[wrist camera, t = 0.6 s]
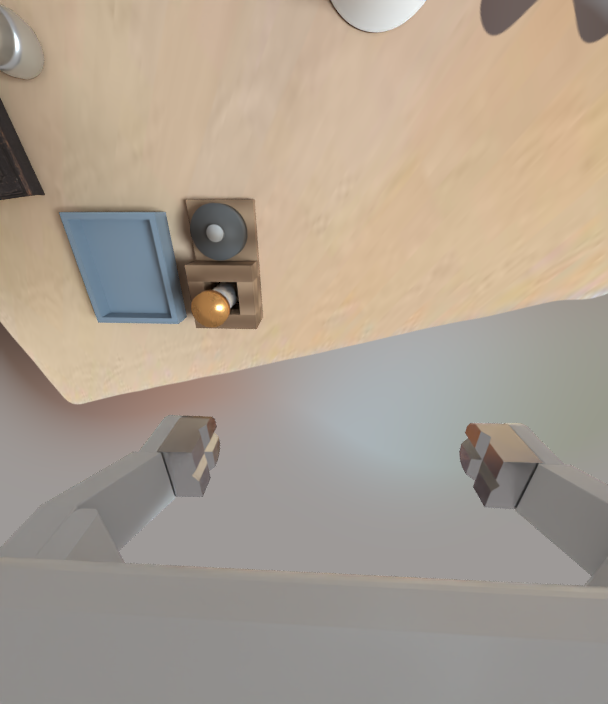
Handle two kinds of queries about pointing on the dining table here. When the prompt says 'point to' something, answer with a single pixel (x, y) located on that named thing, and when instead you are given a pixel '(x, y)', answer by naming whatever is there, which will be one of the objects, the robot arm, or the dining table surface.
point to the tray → (127, 265)
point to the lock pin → (215, 304)
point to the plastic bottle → (19, 47)
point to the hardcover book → (14, 163)
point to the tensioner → (226, 256)
